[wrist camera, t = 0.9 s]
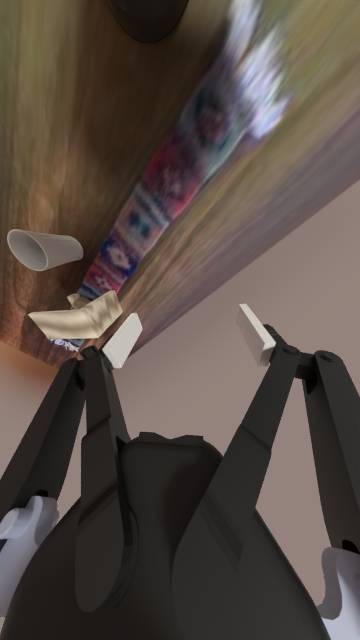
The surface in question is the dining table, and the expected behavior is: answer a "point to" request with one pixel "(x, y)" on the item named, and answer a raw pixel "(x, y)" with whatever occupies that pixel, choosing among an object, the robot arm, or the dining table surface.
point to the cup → (43, 249)
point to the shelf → (80, 317)
